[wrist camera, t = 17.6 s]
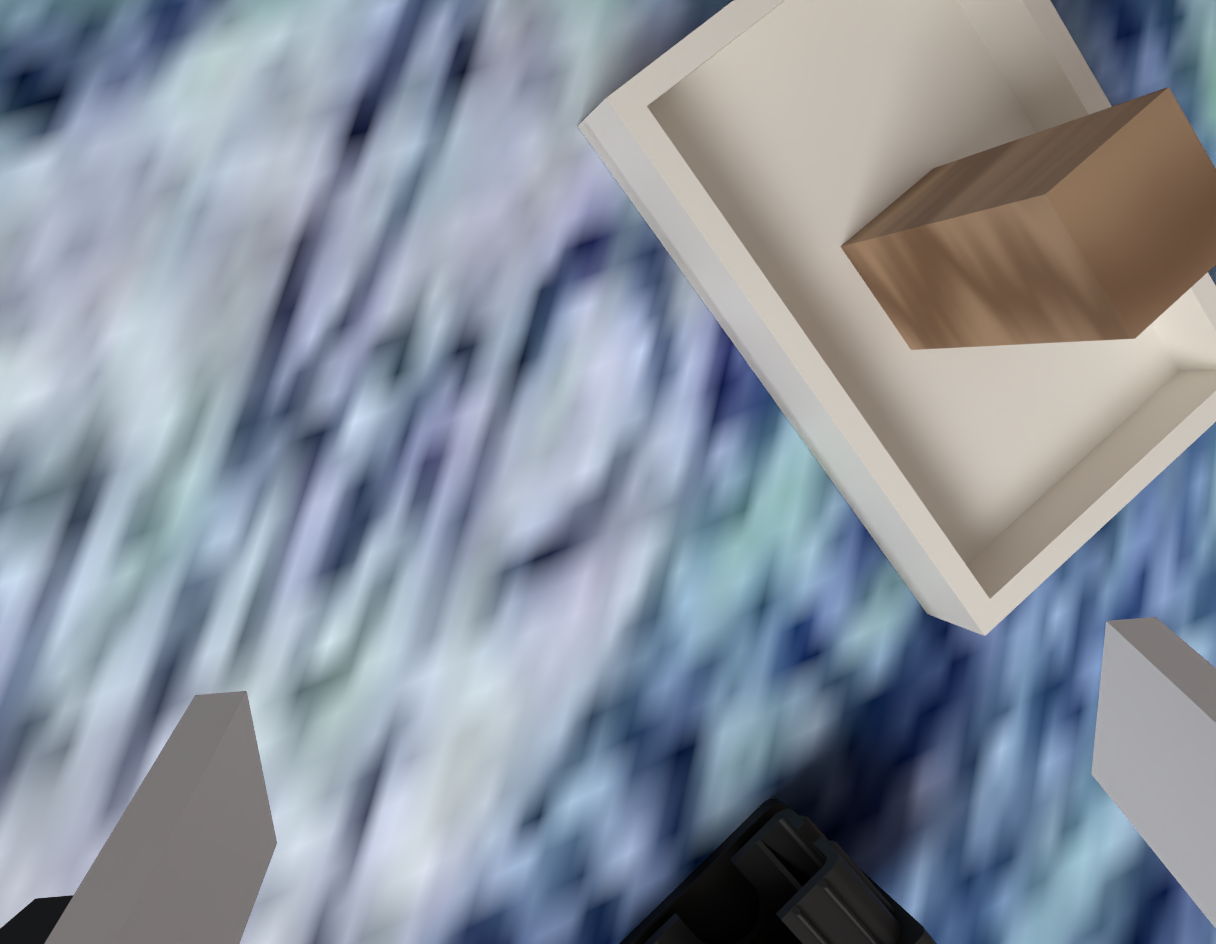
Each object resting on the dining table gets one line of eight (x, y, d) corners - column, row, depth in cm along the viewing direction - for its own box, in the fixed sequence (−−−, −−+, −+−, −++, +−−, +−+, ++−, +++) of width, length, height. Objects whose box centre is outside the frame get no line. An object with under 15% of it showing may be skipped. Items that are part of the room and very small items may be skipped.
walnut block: (840, 246, 41) (1045, 194, 29) (933, 168, 42) (1168, 87, 30) (911, 350, 42) (1134, 338, 30) (1000, 271, 43) (1251, 232, 31)
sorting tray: (577, 126, 39) (605, 98, 35) (893, -117, 41) (953, -168, 37) (927, 613, 44) (984, 636, 40) (1188, 374, 47) (1266, 373, 43)
